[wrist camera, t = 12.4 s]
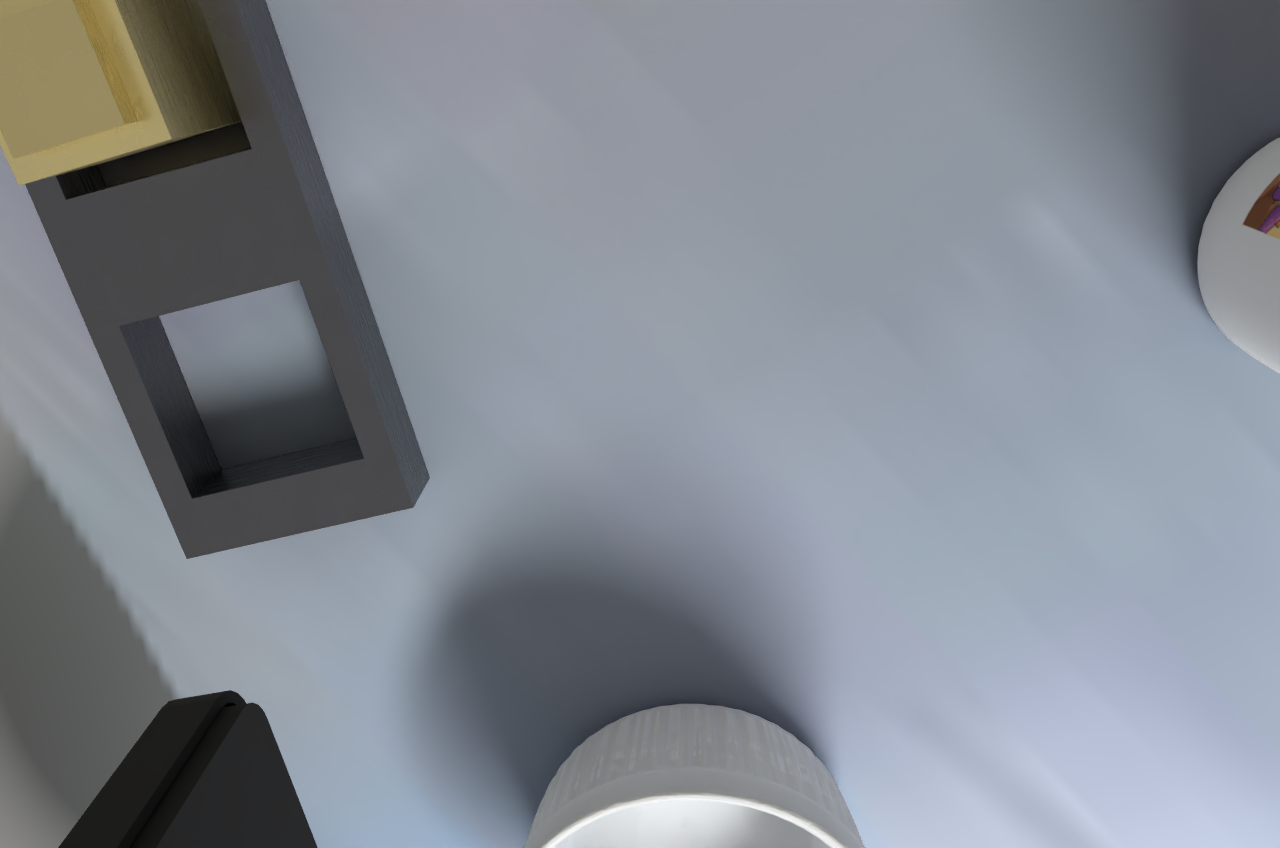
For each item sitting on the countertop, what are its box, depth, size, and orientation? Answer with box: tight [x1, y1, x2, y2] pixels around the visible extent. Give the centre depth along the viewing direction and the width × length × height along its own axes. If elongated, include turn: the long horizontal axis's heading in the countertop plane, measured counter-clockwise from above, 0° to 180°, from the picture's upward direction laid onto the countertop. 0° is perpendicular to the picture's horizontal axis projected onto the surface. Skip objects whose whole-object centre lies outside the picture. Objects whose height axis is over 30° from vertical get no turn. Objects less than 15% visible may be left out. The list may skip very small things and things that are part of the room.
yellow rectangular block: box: [0, 0, 242, 185], centre depth 32 cm, size 4×4×7 cm
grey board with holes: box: [25, 0, 430, 559], centre depth 36 cm, size 20×8×2 cm, turn 15°
